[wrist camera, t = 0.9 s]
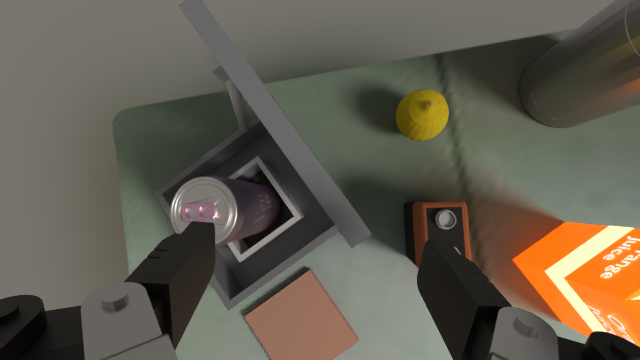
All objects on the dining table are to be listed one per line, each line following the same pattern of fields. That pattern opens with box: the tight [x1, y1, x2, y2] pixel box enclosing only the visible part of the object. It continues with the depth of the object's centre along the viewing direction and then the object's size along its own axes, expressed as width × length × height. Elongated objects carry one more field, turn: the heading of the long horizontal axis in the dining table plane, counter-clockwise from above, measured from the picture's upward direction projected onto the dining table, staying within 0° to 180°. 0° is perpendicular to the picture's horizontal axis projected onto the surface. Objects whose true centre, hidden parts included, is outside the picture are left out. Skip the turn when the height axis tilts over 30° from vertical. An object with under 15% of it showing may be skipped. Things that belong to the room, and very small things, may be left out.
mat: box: [245, 269, 358, 360], centre depth 37 cm, size 10×10×1 cm
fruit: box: [396, 89, 449, 141], centre depth 34 cm, size 6×6×8 cm
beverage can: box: [170, 175, 281, 247], centre depth 31 cm, size 6×6×15 cm
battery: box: [404, 201, 471, 268], centre depth 32 cm, size 4×7×10 cm, turn 2°
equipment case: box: [153, 0, 371, 310], centre depth 27 cm, size 18×16×23 cm
